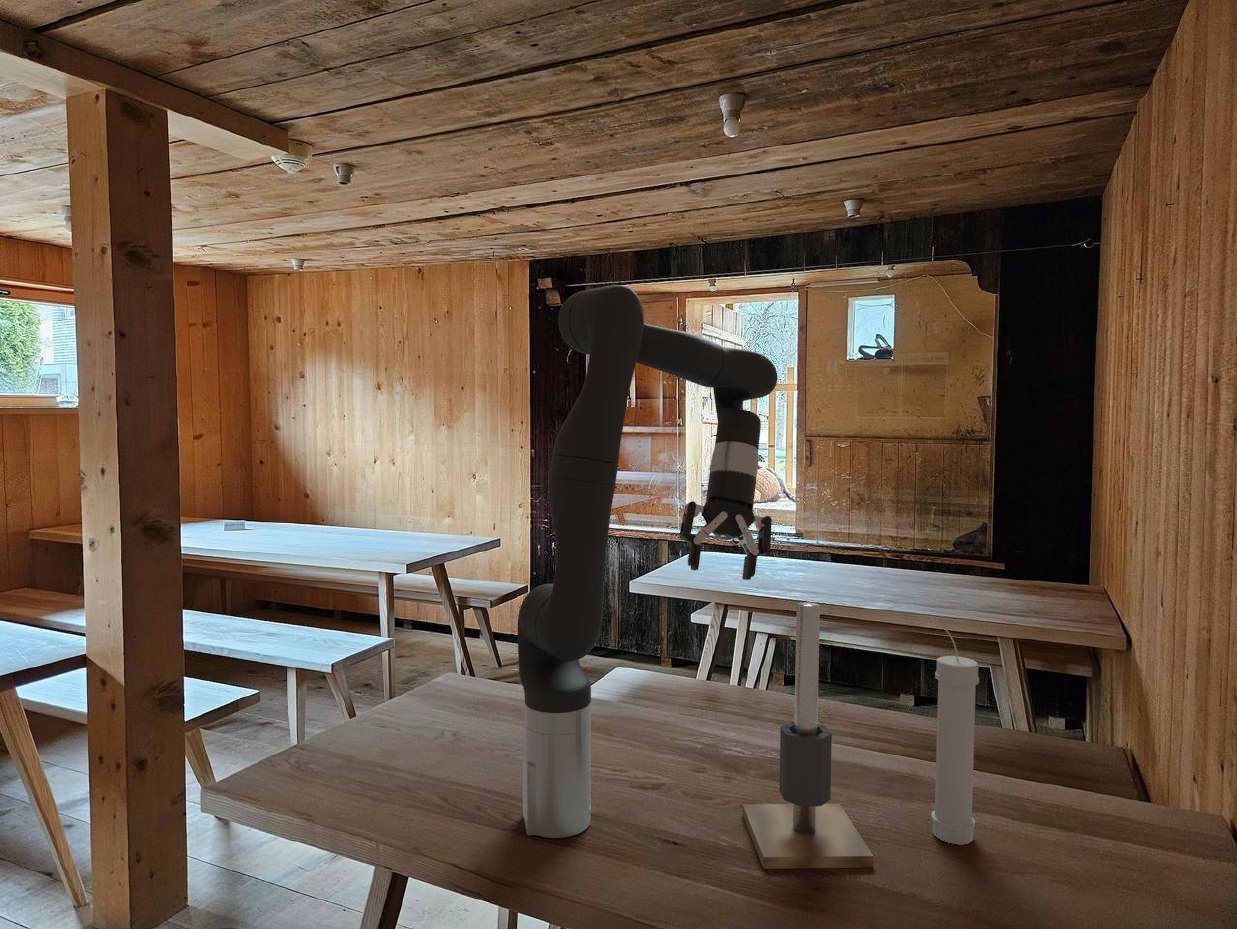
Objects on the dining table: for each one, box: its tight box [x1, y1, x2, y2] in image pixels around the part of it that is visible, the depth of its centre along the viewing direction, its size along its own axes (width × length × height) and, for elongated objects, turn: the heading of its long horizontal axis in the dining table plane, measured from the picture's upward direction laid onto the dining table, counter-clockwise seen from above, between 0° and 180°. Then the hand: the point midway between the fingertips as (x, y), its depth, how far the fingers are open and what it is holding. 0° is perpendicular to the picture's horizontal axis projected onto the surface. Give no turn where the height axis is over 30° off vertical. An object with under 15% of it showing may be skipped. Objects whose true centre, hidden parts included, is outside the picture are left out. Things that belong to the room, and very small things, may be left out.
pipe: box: [930, 617, 980, 846], centre depth 108 cm, size 6×6×30 cm
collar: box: [779, 720, 833, 807], centre depth 107 cm, size 6×6×9 cm
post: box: [742, 602, 874, 870], centre depth 107 cm, size 14×14×32 cm
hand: (720, 574), depth 124 cm, fingers open, 8 cm apart
